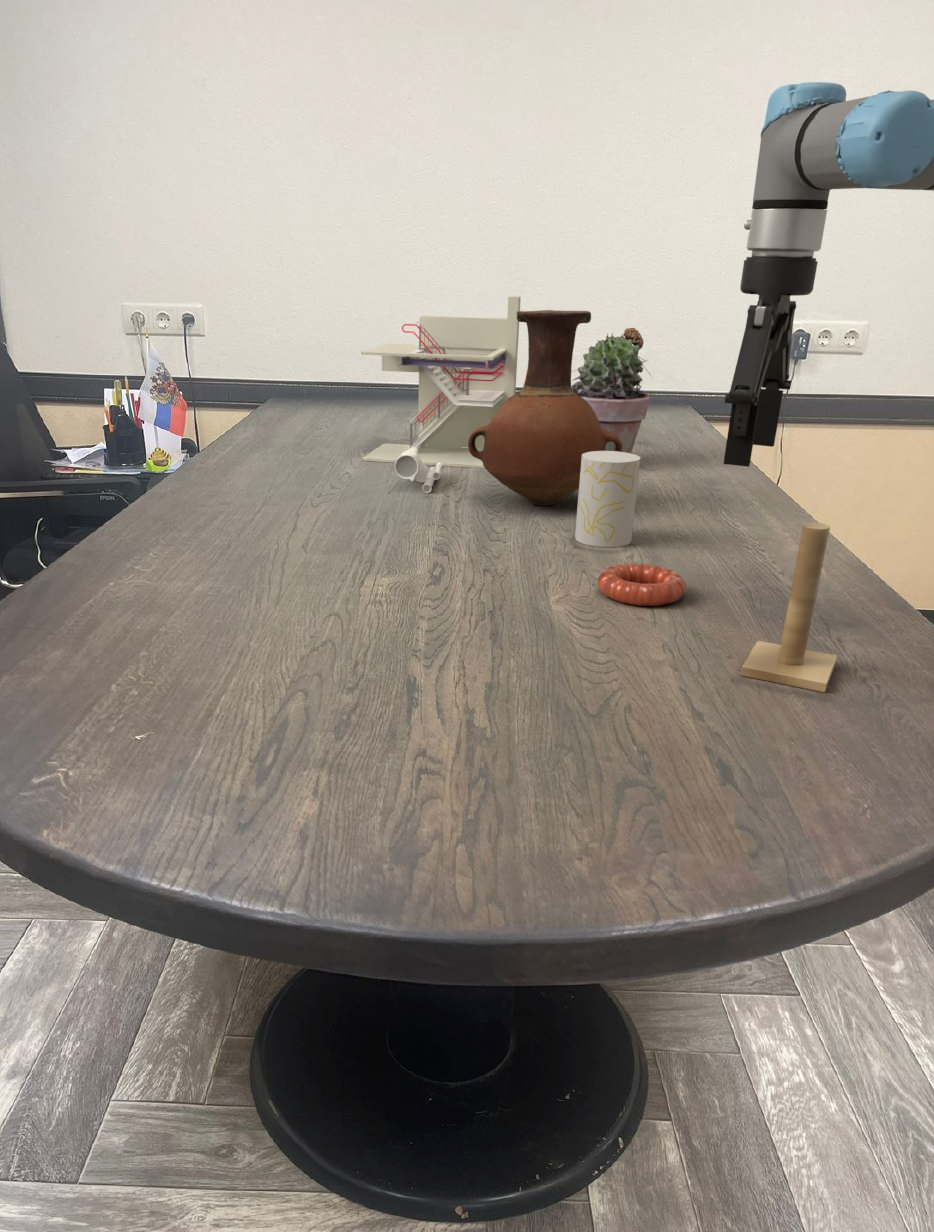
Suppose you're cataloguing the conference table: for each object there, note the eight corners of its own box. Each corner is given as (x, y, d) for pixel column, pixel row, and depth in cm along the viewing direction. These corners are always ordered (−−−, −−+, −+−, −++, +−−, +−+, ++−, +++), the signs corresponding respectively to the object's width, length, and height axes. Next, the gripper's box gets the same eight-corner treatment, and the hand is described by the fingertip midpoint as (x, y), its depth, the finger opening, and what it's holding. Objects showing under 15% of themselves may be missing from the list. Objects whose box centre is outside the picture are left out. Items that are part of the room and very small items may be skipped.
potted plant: (542, 469, 182) (551, 331, 172) (568, 451, 199) (578, 324, 188) (636, 478, 176) (652, 335, 166) (655, 459, 192) (670, 328, 182)
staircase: (359, 462, 186) (357, 297, 173) (384, 445, 202) (383, 293, 189) (497, 471, 180) (506, 301, 167) (512, 453, 196) (520, 296, 183)
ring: (693, 589, 119) (696, 569, 118) (670, 614, 111) (673, 593, 109) (613, 575, 123) (615, 556, 122) (585, 599, 115) (587, 578, 114)
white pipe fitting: (424, 484, 177) (445, 465, 175) (418, 503, 164) (440, 482, 162) (395, 453, 175) (416, 433, 173) (386, 469, 162) (408, 448, 160)
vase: (609, 492, 166) (627, 308, 153) (621, 521, 148) (643, 315, 135) (468, 487, 168) (474, 305, 155) (463, 516, 150) (469, 312, 137)
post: (835, 664, 98) (866, 521, 91) (825, 692, 91) (857, 541, 85) (756, 649, 101) (780, 510, 95) (740, 675, 95) (765, 529, 89)
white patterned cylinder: (570, 543, 137) (577, 459, 131) (579, 529, 144) (586, 449, 138) (627, 549, 134) (636, 464, 129) (634, 534, 141) (643, 453, 136)
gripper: (769, 254, 113) (741, 435, 122) (717, 254, 94) (689, 470, 103) (835, 255, 110) (802, 441, 119) (797, 255, 90) (760, 478, 99)
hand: (749, 454), depth 111 cm, fingers open, 13 cm apart
